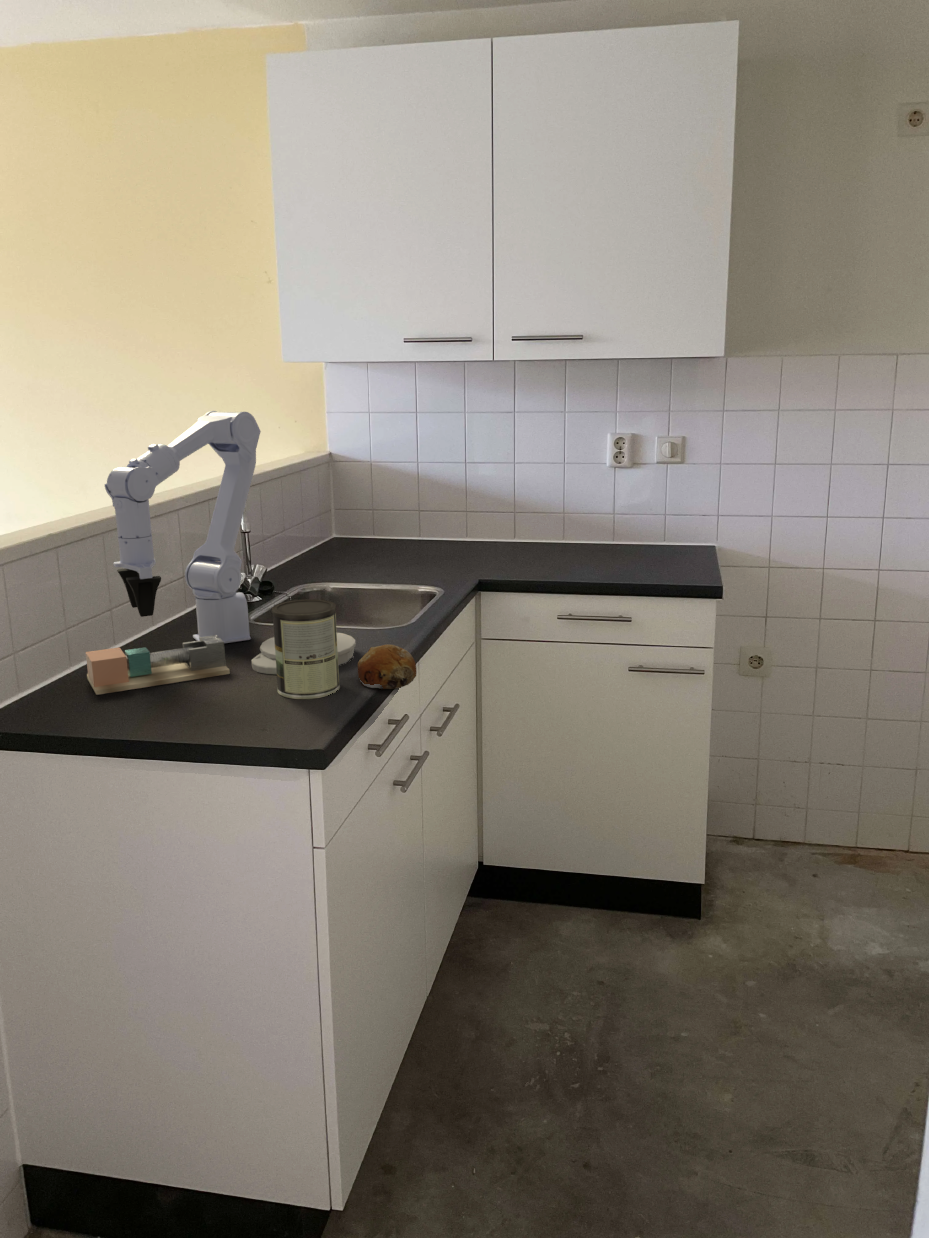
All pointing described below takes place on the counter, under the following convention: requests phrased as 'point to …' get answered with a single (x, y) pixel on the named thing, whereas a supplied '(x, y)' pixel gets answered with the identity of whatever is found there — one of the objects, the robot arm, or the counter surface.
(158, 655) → the tube
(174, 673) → the board
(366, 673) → the bread roll
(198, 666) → the gray notched block
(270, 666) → the lid
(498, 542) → the counter surface
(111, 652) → the socket
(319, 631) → the coffee can
